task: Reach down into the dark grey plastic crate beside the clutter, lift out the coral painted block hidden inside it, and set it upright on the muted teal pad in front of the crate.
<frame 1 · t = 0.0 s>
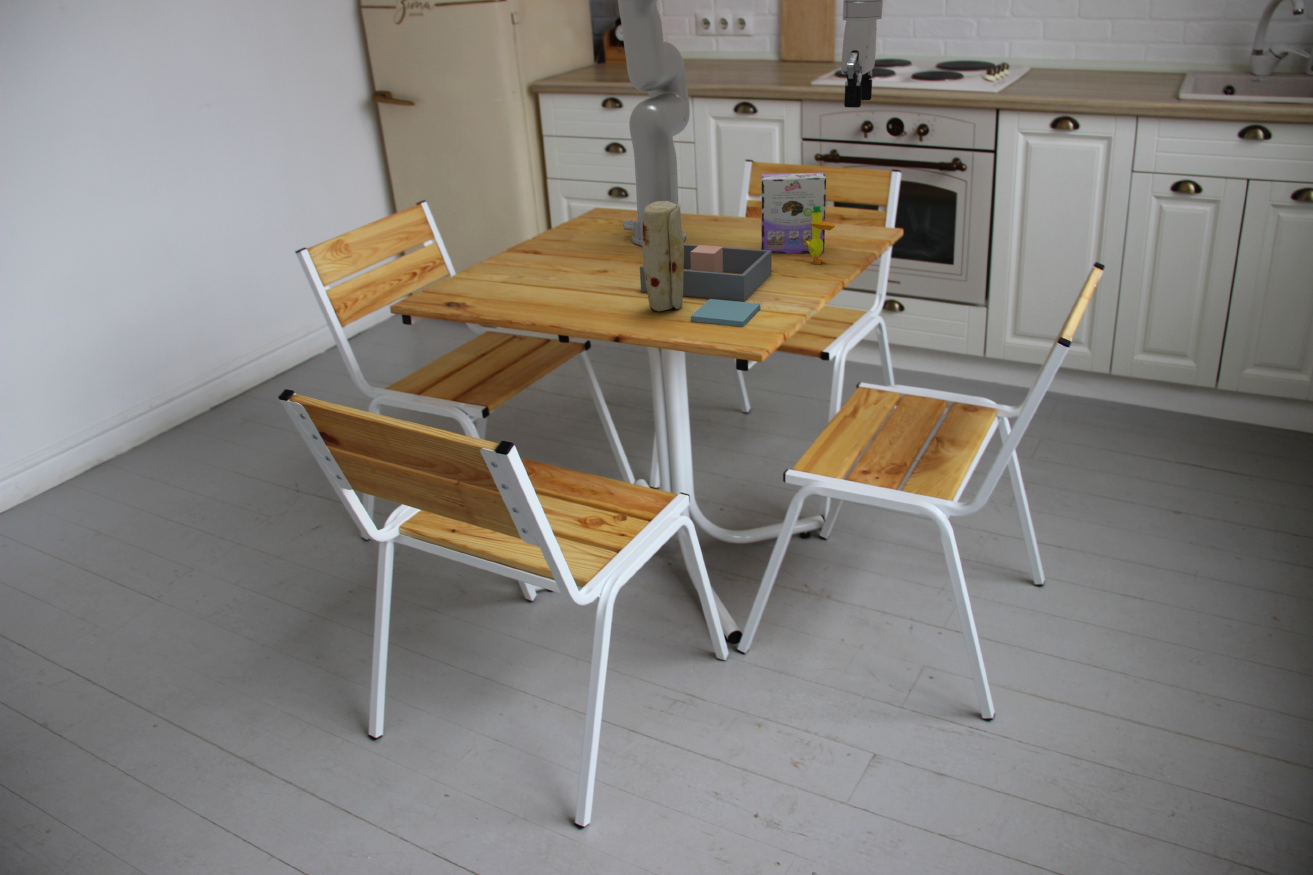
hand: (857, 103, 196), 31 cm above the table, tool pointing down, fingers open, 9 cm apart
block: (707, 283, 197), resting in crate
toy figure: (818, 264, 206), on the table
food model: (665, 309, 184), on the table
candy box: (792, 251, 215), on the table
pad: (726, 315, 179), on the table
crate: (707, 282, 197), on the table
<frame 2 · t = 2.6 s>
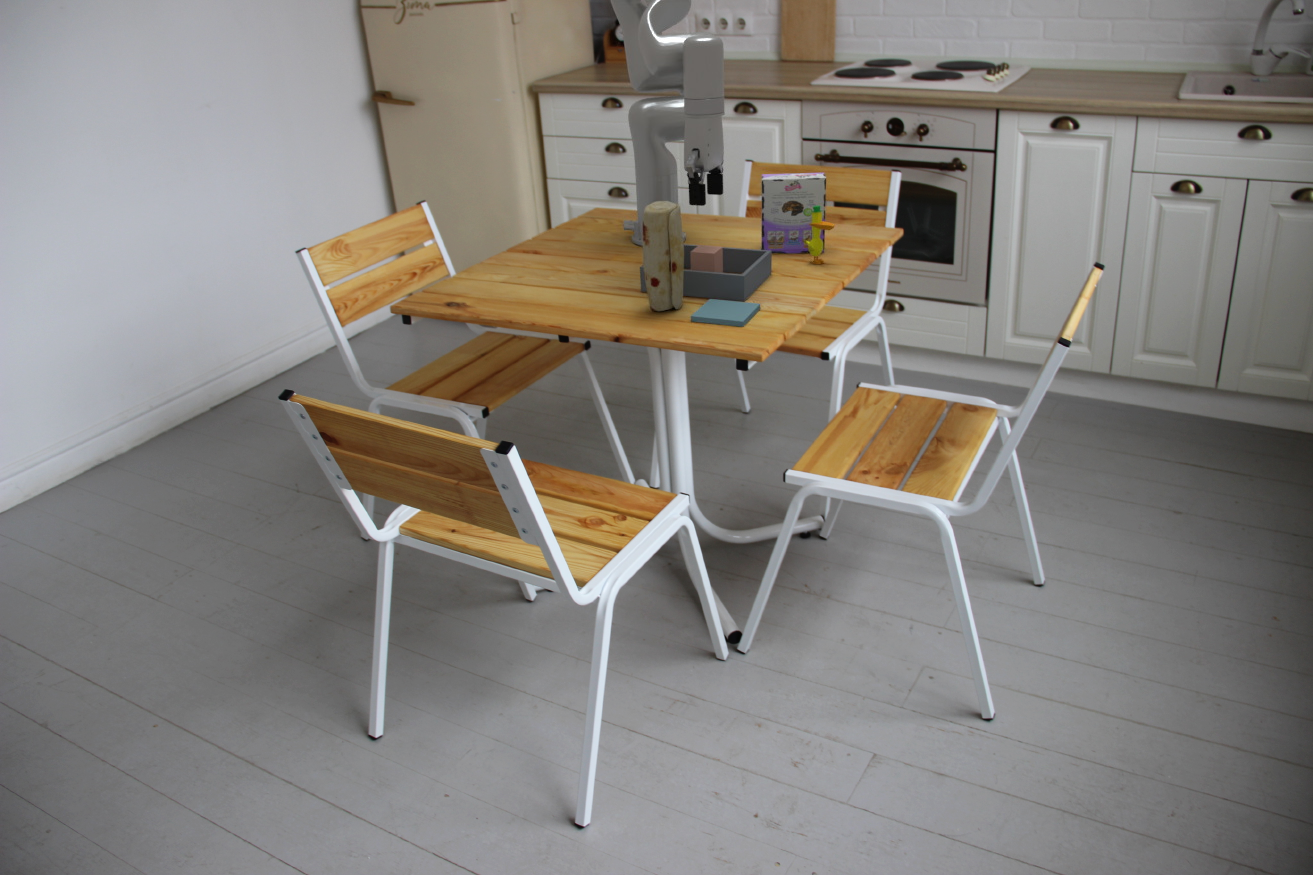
hand: (706, 199, 189), 17 cm above the table, tool pointing down, fingers open, 9 cm apart
nothing on the table moved.
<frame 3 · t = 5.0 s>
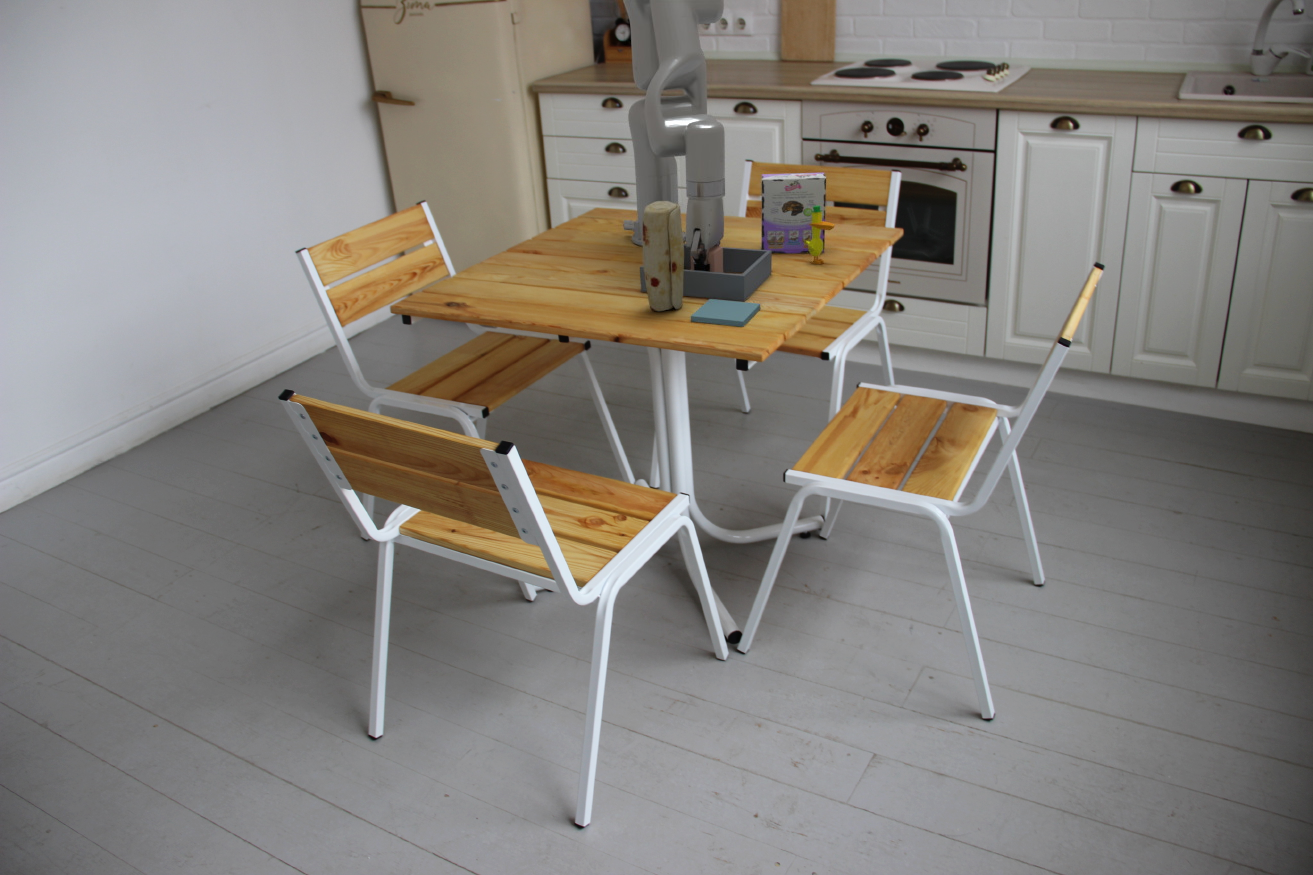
hand: (707, 277, 196), 1 cm above the table, tool pointing down, fingers closed on block, 4 cm apart
block: (707, 283, 197), resting in crate, touching gripper
everything else where it was.
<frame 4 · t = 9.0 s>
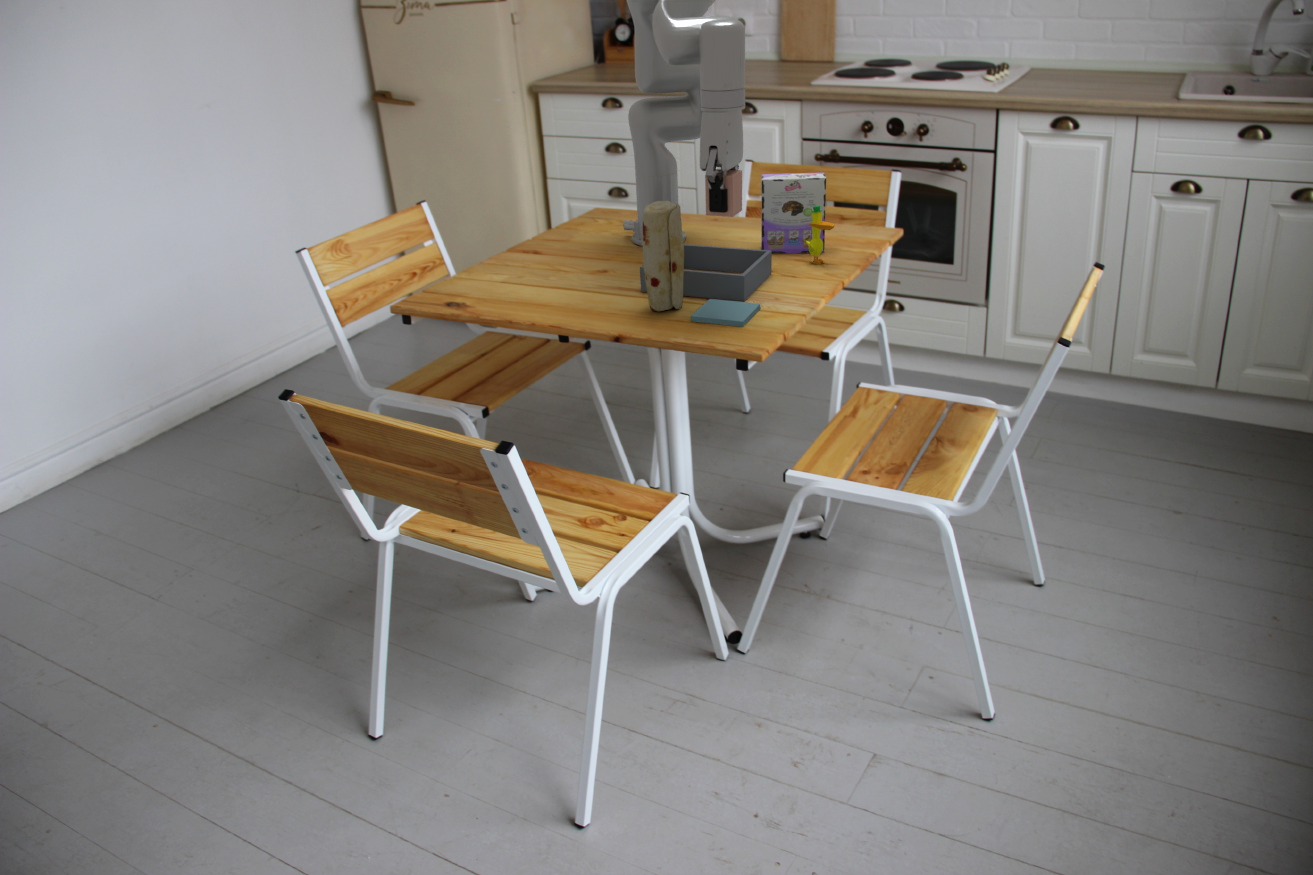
hand: (723, 207, 171), 20 cm above the table, tool pointing down, fingers closed on block, 4 cm apart
block: (724, 213, 172), point 19 cm above the table, touching gripper
everything else where it was.
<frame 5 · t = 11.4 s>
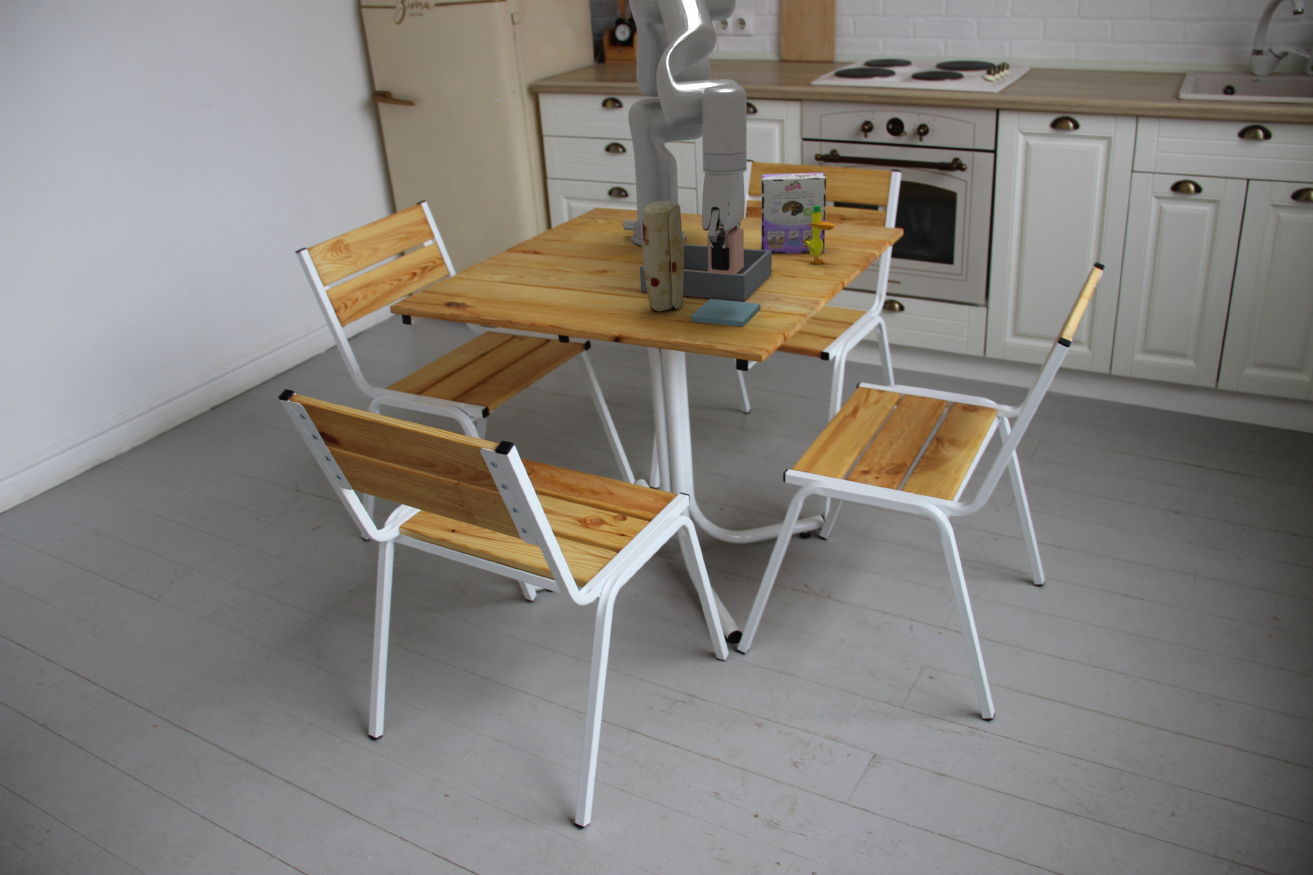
hand: (725, 264, 175), 10 cm above the table, tool pointing down, fingers closed on block, 4 cm apart
block: (726, 269, 175), point 9 cm above the table, touching gripper
everything else where it was.
when the fingers open (3 cm above the table, at t = 13.4 s): block drops 1 cm, resting on pad.
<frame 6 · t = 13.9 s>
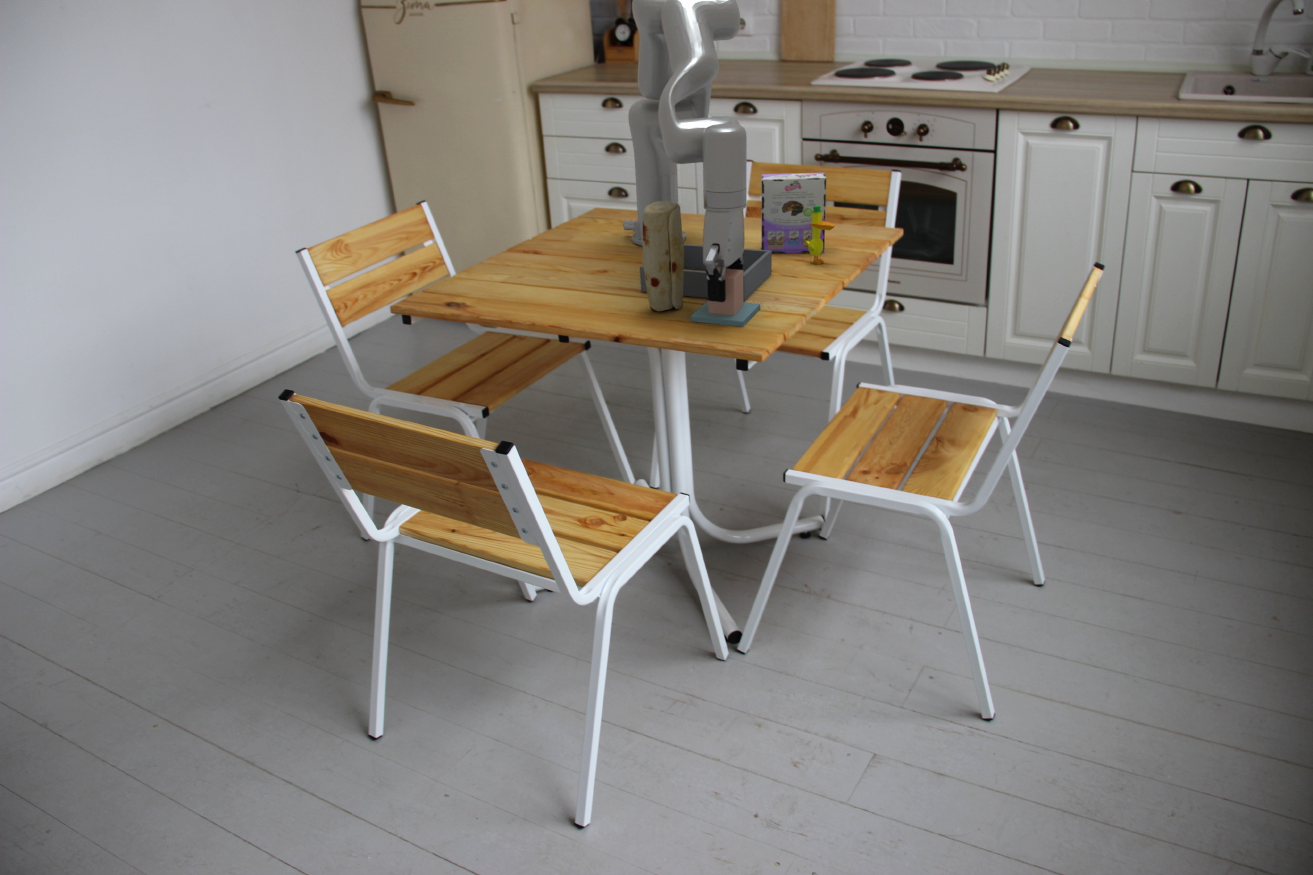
hand: (725, 292, 177), 4 cm above the table, tool pointing down, fingers open, 9 cm apart
block: (725, 309, 179), point 1 cm above the table, touching pad
everything else where it was.
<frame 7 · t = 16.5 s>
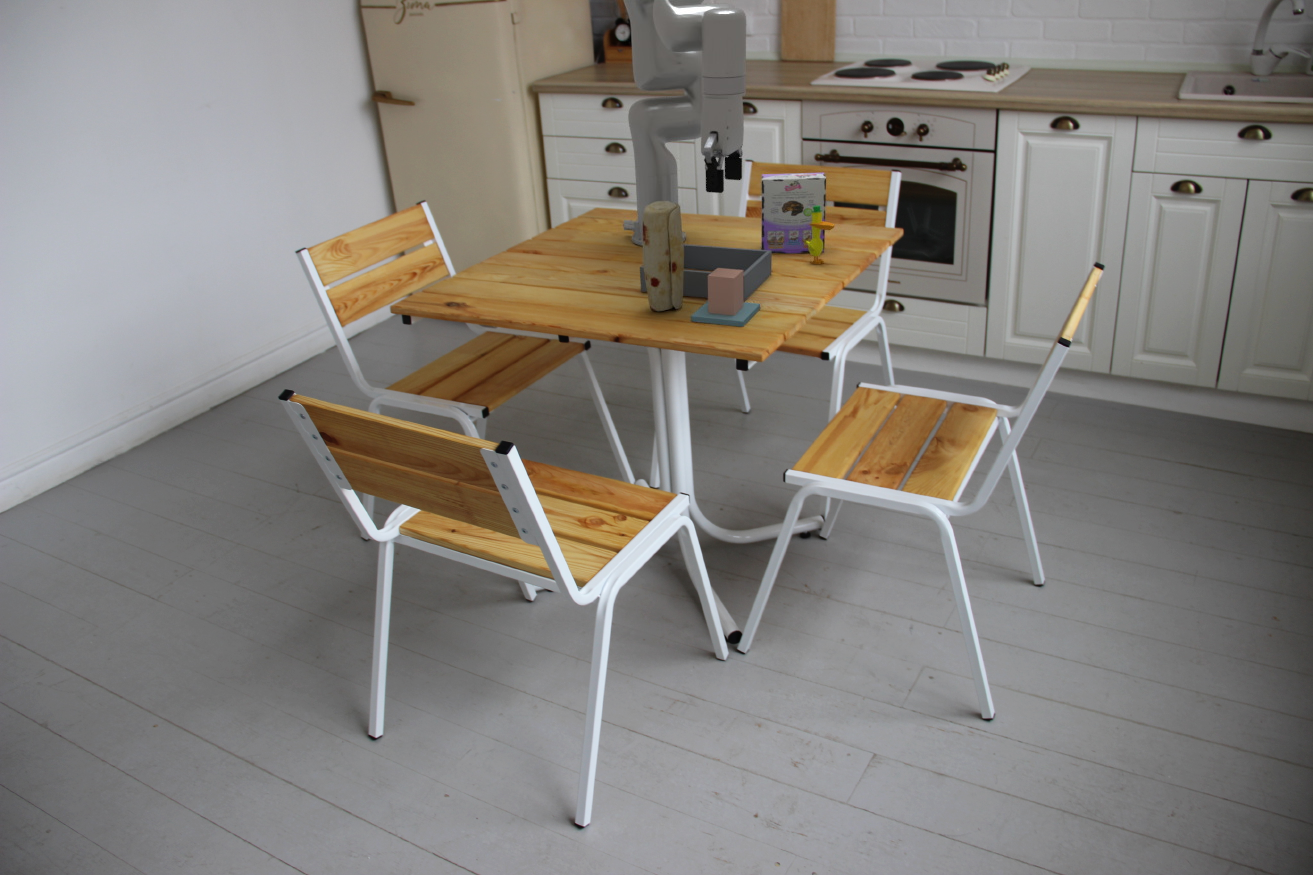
hand: (724, 185, 176), 22 cm above the table, tool pointing down, fingers open, 9 cm apart
nothing on the table moved.
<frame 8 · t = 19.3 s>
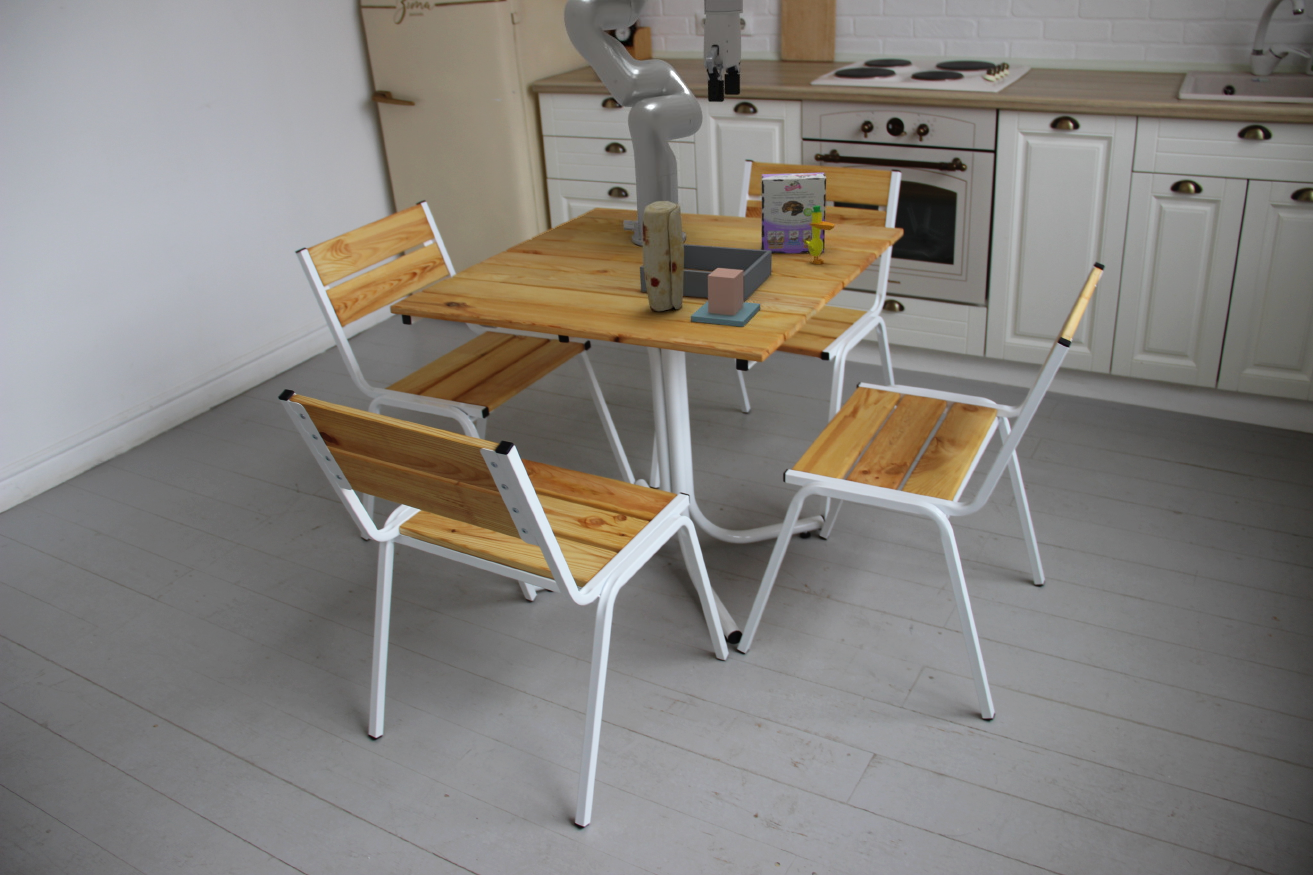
hand: (724, 98, 196), 33 cm above the table, tool pointing down, fingers open, 9 cm apart
nothing on the table moved.
at the end: block inside the target area on the pad (0.0 cm from its centre), point 1.0 cm above the pad's base; block tilted 0°; the gripper is holding nothing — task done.
